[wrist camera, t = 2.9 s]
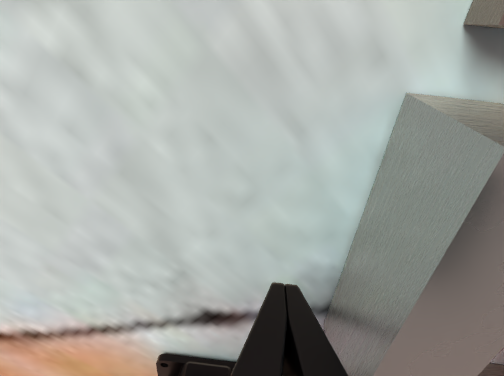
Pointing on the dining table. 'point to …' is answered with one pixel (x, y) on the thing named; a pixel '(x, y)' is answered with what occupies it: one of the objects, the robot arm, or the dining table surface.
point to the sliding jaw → (428, 248)
